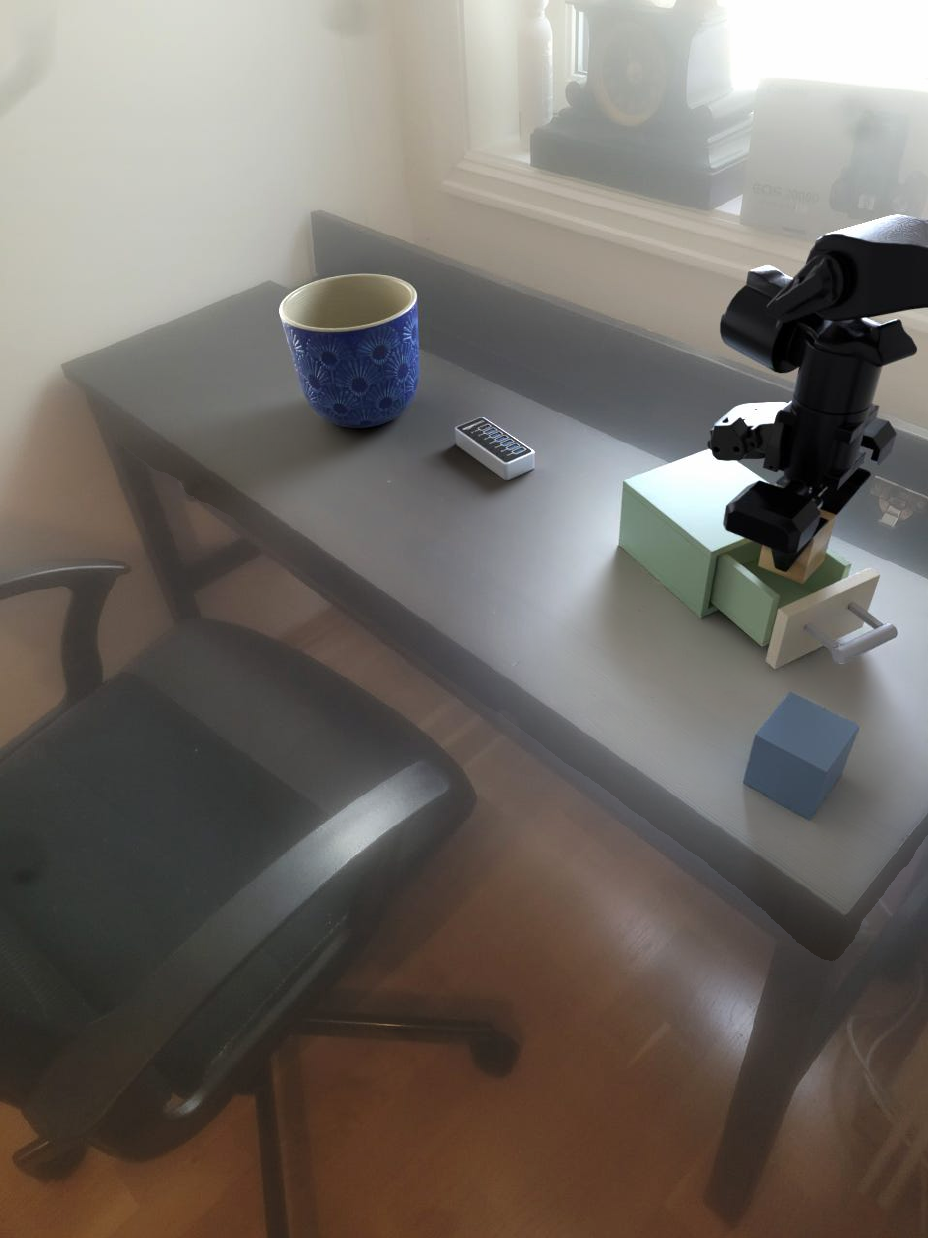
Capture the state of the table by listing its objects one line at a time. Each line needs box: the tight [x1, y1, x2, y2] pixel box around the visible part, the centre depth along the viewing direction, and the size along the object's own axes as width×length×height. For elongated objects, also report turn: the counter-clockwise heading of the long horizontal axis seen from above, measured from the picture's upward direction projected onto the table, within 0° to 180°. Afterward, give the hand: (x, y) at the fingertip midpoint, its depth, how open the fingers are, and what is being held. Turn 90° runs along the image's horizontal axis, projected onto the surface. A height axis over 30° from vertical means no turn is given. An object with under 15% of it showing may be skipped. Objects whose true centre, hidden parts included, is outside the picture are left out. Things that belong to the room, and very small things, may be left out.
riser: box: [742, 691, 861, 821], centre depth 67 cm, size 6×6×6 cm
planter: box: [279, 273, 420, 429], centre depth 111 cm, size 17×17×15 cm
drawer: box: [709, 541, 899, 670], centre depth 78 cm, size 17×10×6 cm, turn 28°
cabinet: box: [618, 448, 769, 619], centre depth 86 cm, size 14×12×8 cm
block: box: [758, 509, 837, 584], centre depth 75 cm, size 4×4×5 cm
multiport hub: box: [454, 416, 535, 481], centre depth 105 cm, size 4×11×2 cm, turn 35°
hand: (793, 556), depth 76 cm, fingers closed on block, 4 cm apart
